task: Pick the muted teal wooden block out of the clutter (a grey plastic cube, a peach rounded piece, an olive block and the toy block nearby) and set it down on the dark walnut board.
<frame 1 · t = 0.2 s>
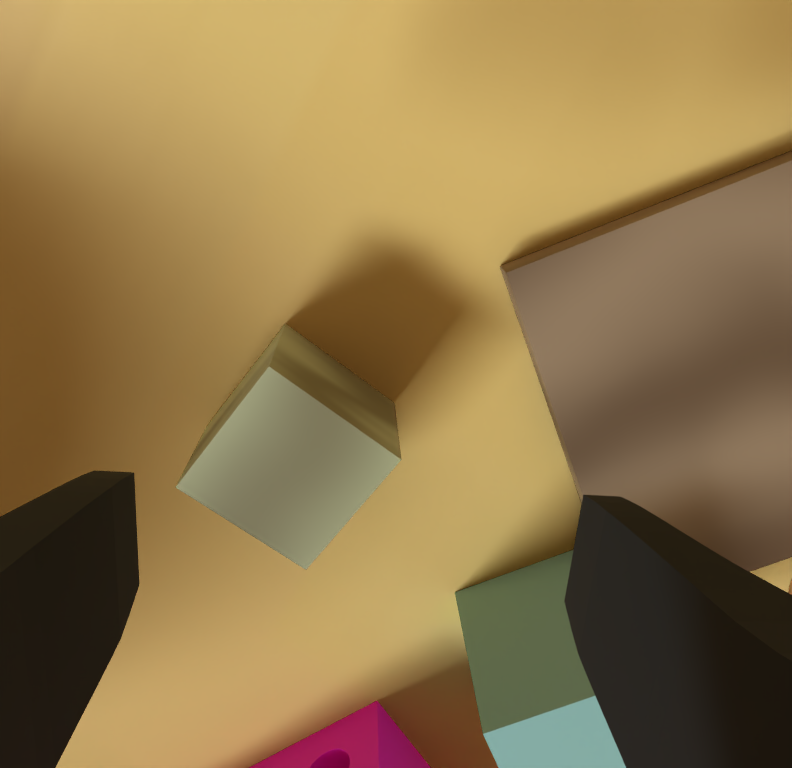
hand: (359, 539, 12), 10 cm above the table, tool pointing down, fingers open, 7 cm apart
teal block: (539, 620, 25), on the table
olive block: (300, 413, 22), on the table
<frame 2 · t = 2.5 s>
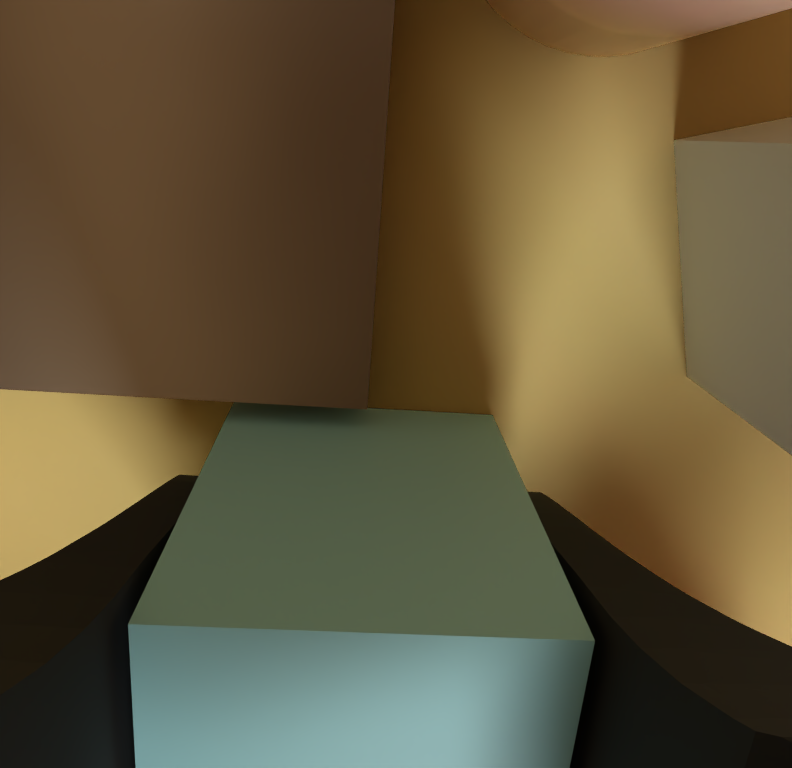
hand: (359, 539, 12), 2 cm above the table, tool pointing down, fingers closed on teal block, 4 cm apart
teal block: (357, 521, 13), on the table, touching gripper
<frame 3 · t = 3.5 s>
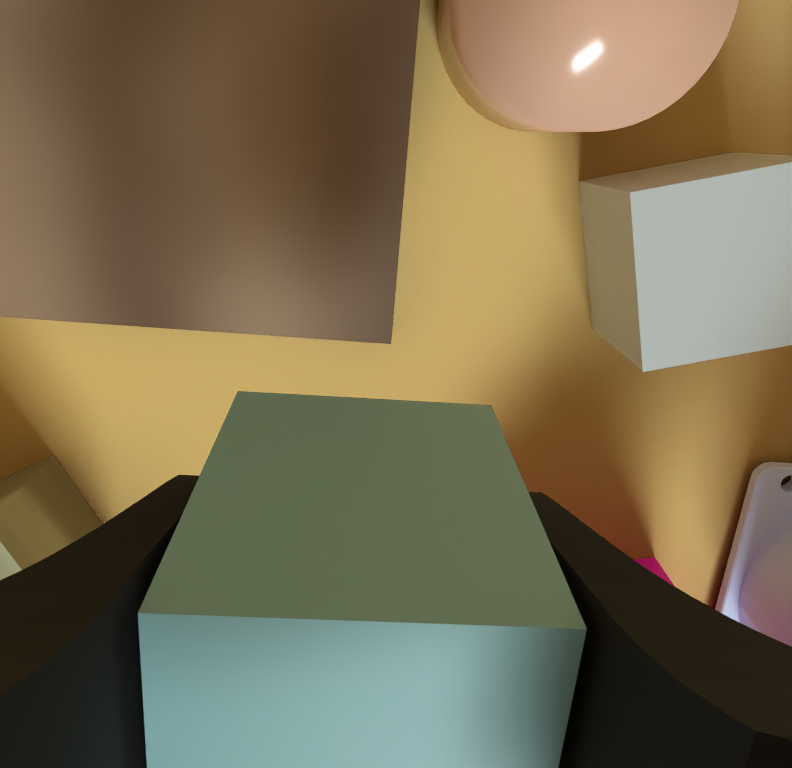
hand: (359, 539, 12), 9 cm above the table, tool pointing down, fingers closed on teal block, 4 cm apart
teal block: (358, 509, 14), point 7 cm above the table, touching gripper
peach rounded piece: (539, 22, 18), on the table
toy block: (556, 743, 25), on the table
olive block: (36, 535, 22), on the table
grey cube: (658, 243, 19), on the table
when the fingers open (4 cm above the table, at t = 5.5 s): teal block drops 1 cm, resting on board.
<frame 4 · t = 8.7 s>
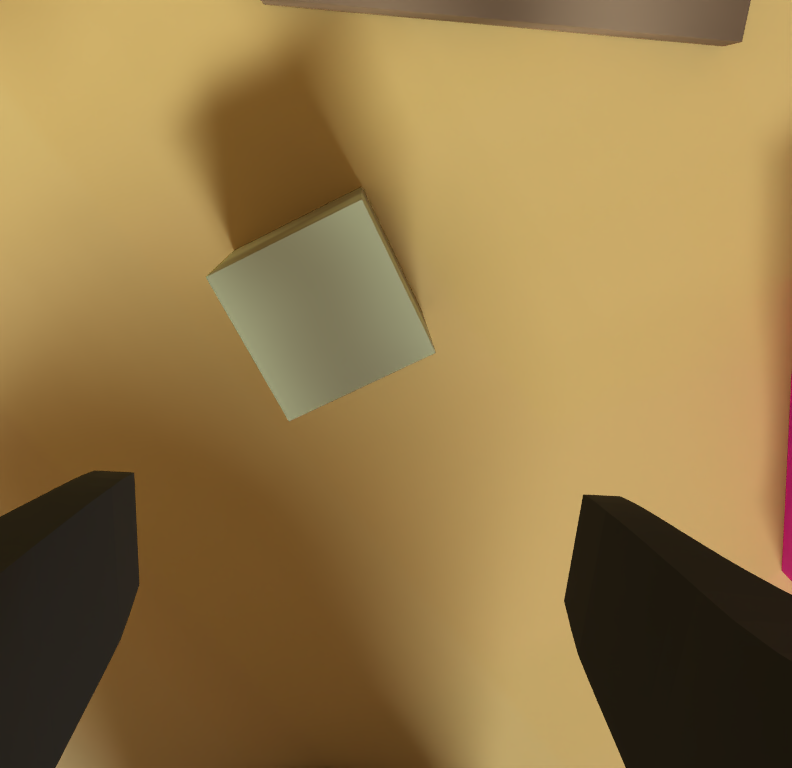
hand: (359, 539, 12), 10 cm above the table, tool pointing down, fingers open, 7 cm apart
olive block: (330, 282, 21), on the table
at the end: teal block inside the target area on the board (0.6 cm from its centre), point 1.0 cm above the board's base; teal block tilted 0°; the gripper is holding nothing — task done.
